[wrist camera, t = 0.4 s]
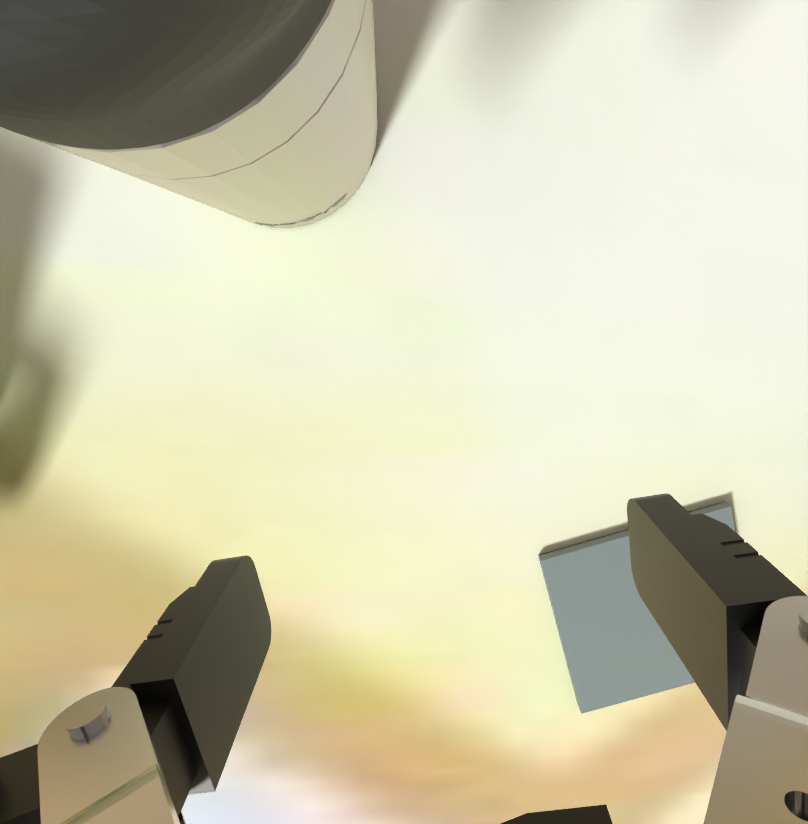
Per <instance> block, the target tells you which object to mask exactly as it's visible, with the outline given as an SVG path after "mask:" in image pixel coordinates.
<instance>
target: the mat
mask: <svg viewBox="0 0 808 824" xmlns="http://www.w3.org/2000/svg"><path fill="white" fill-rule="evenodd" d="M688 513H690V514H691V515H693V514H700V513H702V514H704V515H706V516H709V517H711V518H713V519H716V520H718V521H720V522H722V523H725V524H727V525H728V526H729V527H730V528H731V529H732V530H734V531H735V526H734V519H733V513H732V507H731V506H730V505H729V504H727V503H726V502H723V503H719V504H716V505H712V506H709V507H705V508H702V509H698V510H695V511H691V512H688ZM539 560H540V563H541V567H542V571H543V575H544V578H545V582H546V586H547V590H548V593H549V597H550V601H551V605H552V609H553V612H554V616H555V620H556V624H557V627H558V631H559V635H560V639H561V642H562V646H563V650H564V654H565V658H566V661H567V665H568V669H569V673H570V676H571V680H572V684H573V688H574V691H575V695H576V699H577V703H578V706H579V709H580V711H581V713H585V712H589V711H593V710H596V709H600V708H604V707H607V706H611V705H614V704H618V703H622V702H625V701H629V700H633V699H636V698H640V697H643V696H647V695H651V694H654V693H658V692H662V691H665V690H669V689H673V688H676V687H680V686H683V685H687V684H691V683H694V682H695V681H694V679H693V678H692V676H691V675H690V673H689V672H688V670H687V669H686V667H685V665H684V664H683V662H682V661H681V659H680V658H679V656H678V655H677V653H676V651H675V650H674V648H673V647H672V645H671V644H670V642H669V641H668V639H667V637H666V636H665V634H664V633H663V631H662V630H661V628H660V627H659V625H658V623H657V622H656V620H655V619H654V617H653V616H652V614H651V613H650V611H649V609H648V608H647V606H646V605H645V603H644V602H643V600H642V599H641V597H640V595H639V593H638V590H637V588H636V585H635V582H634V578H633V574H632V569H631V557H630V543H629V530H625V531H622V532H618V533H615V534H612V535H608V536H605V537H601V538H598V539H594V540H591V541H587V542H584V543H580V544H577V545H573V546H570V547H566V548H563V549H559V550H556V551H553V552H549V553H546V554H542V555H539Z"/></svg>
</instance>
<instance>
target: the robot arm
mask: <svg viewBox="0 0 808 824" xmlns="http://www.w3.org/2000/svg"><path fill="white" fill-rule="evenodd" d="M0 127H3V128H6V129H8V130H11V131H14V132H16V133H19V134H22V135H25V136H28V137H31V138H33V139H36V140H39V141H41V142H44V143H46V144H49V145H52V146H54V147H57V148H60V149H62V150H65V151H67V152H70V153H73V154H75V155H78V156H80V157H83V158H86V159H88V160H91V161H94V162H97V163H100V164H102V165H105V166H107V167H110V168H113V169H115V170H118V171H120V172H123V173H126V174H128V175H131V176H133V177H136V178H138V179H141V180H144V181H146V182H149V183H151V184H154V185H157V186H159V187H162V188H164V189H167V190H169V191H172V192H175V193H177V194H180V195H182V196H185V197H188V198H190V199H193V200H195V201H198V202H200V203H203V204H206V205H208V206H211V207H213V208H216V209H219V210H221V211H224V212H226V213H229V214H231V215H234V216H236V217H239V218H242V219H244V220H247V221H249V222H252V223H256V224H259V225H265V226H269V227H282V228H293V227H298V226H303V225H308V224H312V223H314V222H317V221H319V220H321V219H323V218H325V217H328V216H330V215H331V214H332V213H334V212H335V211H336V210H338V209H339V208H340V207H342V206H343V205H344V204H346V203H347V201H348V200H349V199H350V198H351V197H352V196H353V194H354V193H355V192H356V191H357V190H358V189H359V187H360V185H361V183H362V182H363V180H364V178H365V176H366V174H367V172H368V171H369V168H370V165H371V162H372V158H373V155H374V152H375V148H376V139H377V129H378V119H377V87H376V63H375V39H374V15H373V0H0ZM627 516H628V530H629V543H630V557H631V569H632V574H633V578H634V582H635V585H636V588H637V590H638V593H639V595H640V597H641V599H642V600H643V602H644V603H645V605H646V606H647V608H648V609H649V611H650V613H651V614H652V616H653V617H654V619H655V620H656V622H657V623H658V625H659V627H660V628H661V630H662V631H663V633H664V634H665V636H666V637H667V639H668V641H669V642H670V644H671V645H672V647H673V648H674V650H675V651H676V653H677V655H678V656H679V658H680V659H681V661H682V662H683V664H684V665H685V667H686V669H687V670H688V672H689V673H690V675H691V676H692V678H693V679H694V681H695V682H696V684H697V686H698V687H699V689H700V690H701V692H702V693H703V695H704V696H705V698H706V700H707V701H708V703H709V704H710V706H711V707H712V709H713V710H714V712H715V714H716V715H717V717H718V718H719V720H720V721H721V723H722V724H723V726H724V728H725V729H726V731H727V733H726V737H725V741H724V745H723V749H722V753H721V757H720V761H719V765H718V769H717V773H716V777H715V781H714V785H713V789H712V793H711V797H710V801H709V805H708V809H707V813H706V817H705V821H704V824H808V596H807V595H806V594H805V593H804V592H802V591H801V590H800V589H799V588H798V587H797V586H796V585H795V584H793V583H792V582H791V581H790V580H789V579H788V578H787V577H785V576H784V575H783V574H782V573H781V572H780V571H779V570H778V569H776V568H775V567H774V566H773V565H772V564H771V563H770V562H769V561H767V560H766V559H765V558H764V557H763V556H762V555H760V556H759V555H758V552H757V551H756V550H755V549H754V548H753V547H752V546H750V545H749V544H748V543H747V542H746V543H745V542H744V539H743V538H741V537H740V536H739V535H738V534H737V533H736V532H735V531H734V530H732V529H731V528H730V527H729V526H728V525H727V524H725V523H722V522H720V521H718V520H716V519H713V518H711V517H709V516H706V515H704V514H702V513H700V514H693V515H691V514H690V513H688V512H687V511H686V510H685V509H684V508H683V507H682V506H681V505H680V504H679V503H678V502H677V501H676V500H675V499H674V498H673V497H672V496H671V495H669V494H660V495H653V496H647V497H640V498H633V499H630V500H629V501H628V505H627ZM270 641H271V621H270V616H269V612H268V609H267V606H266V602H265V599H264V595H263V592H262V589H261V585H260V582H259V578H258V575H257V572H256V568H255V565H254V562H253V560H252V559H251V558H250V557H249V556H240V557H234V558H227V559H220V560H214V561H212V562H211V563H210V564H209V566H208V567H207V569H206V570H205V572H204V573H203V575H202V576H201V578H200V579H199V581H198V582H197V584H196V586H195V587H190V588H188V589H187V590H186V591H185V592H184V593H182V594H181V595H180V596H179V597H178V598H176V599H175V600H174V601H173V602H172V603H170V604H169V606H168V607H167V609H166V610H165V612H164V613H163V614H162V616H161V617H160V619H159V620H158V625H155V626H154V627H153V629H152V630H151V631H150V633H149V634H148V636H147V640H144V641H143V643H142V644H141V646H140V647H139V649H138V650H137V651H136V653H135V654H134V656H133V657H132V659H131V660H130V661H129V663H128V664H127V666H126V667H125V668H124V670H123V671H122V673H121V674H120V676H119V677H118V678H117V680H116V681H115V683H114V684H113V686H112V687H111V688H107V689H103V690H100V691H97V692H94V693H92V694H90V695H88V696H86V697H84V698H82V699H80V700H78V701H77V702H75V703H74V704H72V705H71V706H69V707H68V708H66V709H65V710H64V711H63V712H61V713H60V714H59V715H58V716H57V717H56V718H55V719H54V720H53V721H52V722H51V723H50V724H49V725H48V727H47V728H46V729H45V731H44V732H43V734H42V736H41V738H40V740H39V743H38V744H37V745H34V746H31V747H28V748H26V749H23V750H20V751H18V752H15V753H12V754H10V755H7V756H4V757H1V758H0V824H186V822H185V819H184V816H183V814H182V811H181V810H182V807H183V805H184V802H185V800H186V798H187V795H189V794H197V793H206V792H214V791H215V790H216V787H217V785H218V782H219V779H220V777H221V774H222V771H223V769H224V766H225V763H226V761H227V758H228V755H229V753H230V750H231V747H232V745H233V742H234V739H235V737H236V734H237V731H238V729H239V726H240V723H241V721H242V718H243V715H244V713H245V710H246V707H247V705H248V702H249V699H250V697H251V694H252V691H253V689H254V686H255V684H256V681H257V678H258V676H259V673H260V670H261V668H262V665H263V662H264V660H265V657H266V654H267V652H268V649H269V646H270ZM501 824H612V821H611V818H610V815H609V812H608V809H607V806H606V805H599V806H590V807H580V808H571V809H562V810H553V811H544V812H534V813H527V814H524V815H522V816H519V817H516V818H514V819H511V820H509V821H506V822H504V823H501Z"/></svg>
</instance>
